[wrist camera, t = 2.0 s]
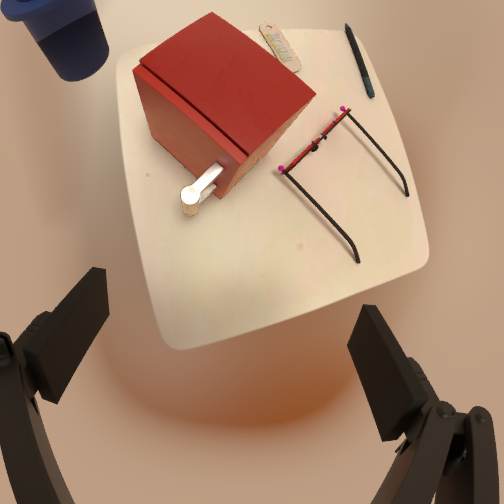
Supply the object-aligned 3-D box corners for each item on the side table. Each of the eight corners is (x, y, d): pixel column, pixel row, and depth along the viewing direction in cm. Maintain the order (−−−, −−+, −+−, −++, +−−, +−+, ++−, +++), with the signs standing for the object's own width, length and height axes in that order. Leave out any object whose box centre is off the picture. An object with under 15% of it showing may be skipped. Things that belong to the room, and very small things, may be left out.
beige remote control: (256, 21, 37) (273, 19, 37) (255, 24, 37) (272, 21, 38) (287, 72, 37) (305, 68, 38) (286, 74, 38) (304, 70, 38)
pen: (346, 25, 40) (349, 21, 39) (373, 98, 41) (377, 95, 40) (341, 24, 40) (344, 20, 39) (367, 98, 41) (371, 95, 40)
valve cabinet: (225, 195, 37) (250, 155, 21) (156, 131, 35) (138, 59, 19) (268, 151, 38) (317, 93, 22) (201, 91, 36) (211, 11, 20)
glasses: (334, 112, 39) (350, 97, 35) (408, 195, 42) (429, 190, 37) (270, 174, 38) (282, 163, 33) (357, 264, 40) (377, 265, 35)
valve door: (195, 226, 35) (197, 208, 21) (126, 160, 34) (90, 106, 19) (225, 194, 36) (248, 157, 21) (156, 131, 34) (139, 63, 20)
